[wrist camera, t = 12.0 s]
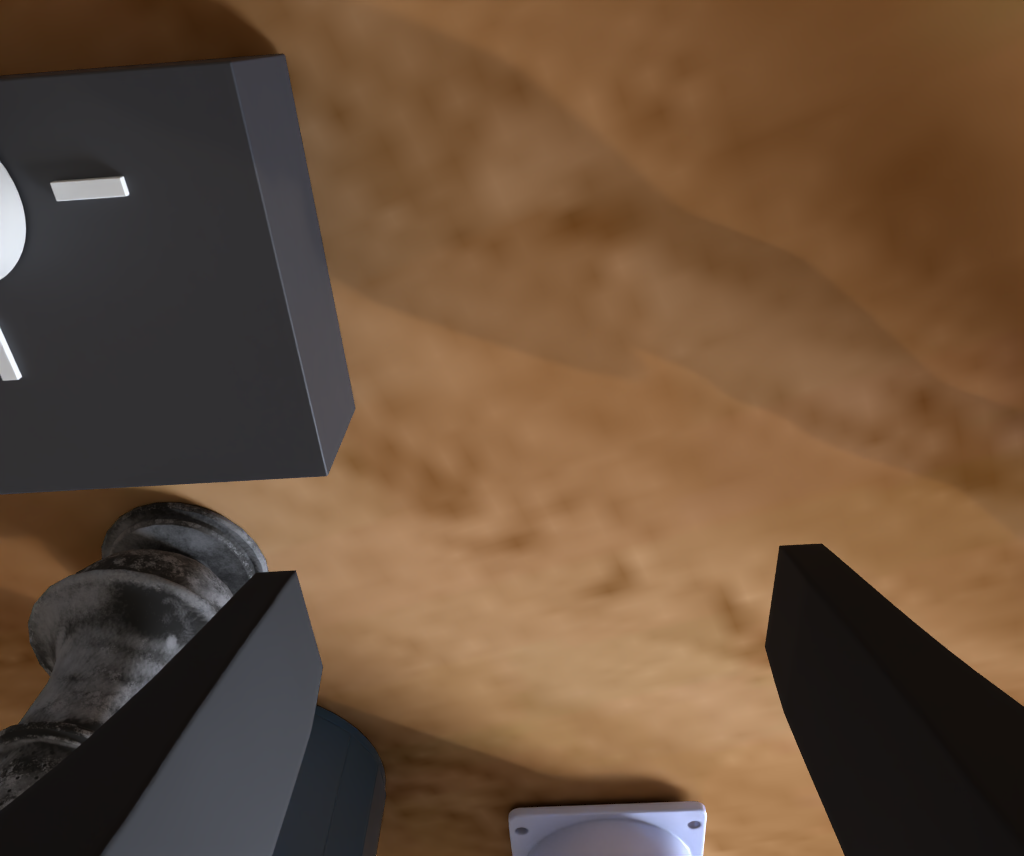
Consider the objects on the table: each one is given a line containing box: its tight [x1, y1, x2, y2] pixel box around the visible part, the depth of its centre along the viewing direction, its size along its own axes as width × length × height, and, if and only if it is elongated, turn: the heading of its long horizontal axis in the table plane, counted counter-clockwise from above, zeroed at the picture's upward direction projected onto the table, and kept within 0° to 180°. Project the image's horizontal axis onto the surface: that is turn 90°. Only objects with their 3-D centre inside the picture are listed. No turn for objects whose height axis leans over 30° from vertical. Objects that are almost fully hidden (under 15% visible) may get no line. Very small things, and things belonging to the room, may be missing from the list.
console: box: [0, 54, 355, 494], centre depth 16 cm, size 11×13×4 cm
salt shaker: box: [0, 503, 268, 810], centre depth 18 cm, size 6×6×12 cm
